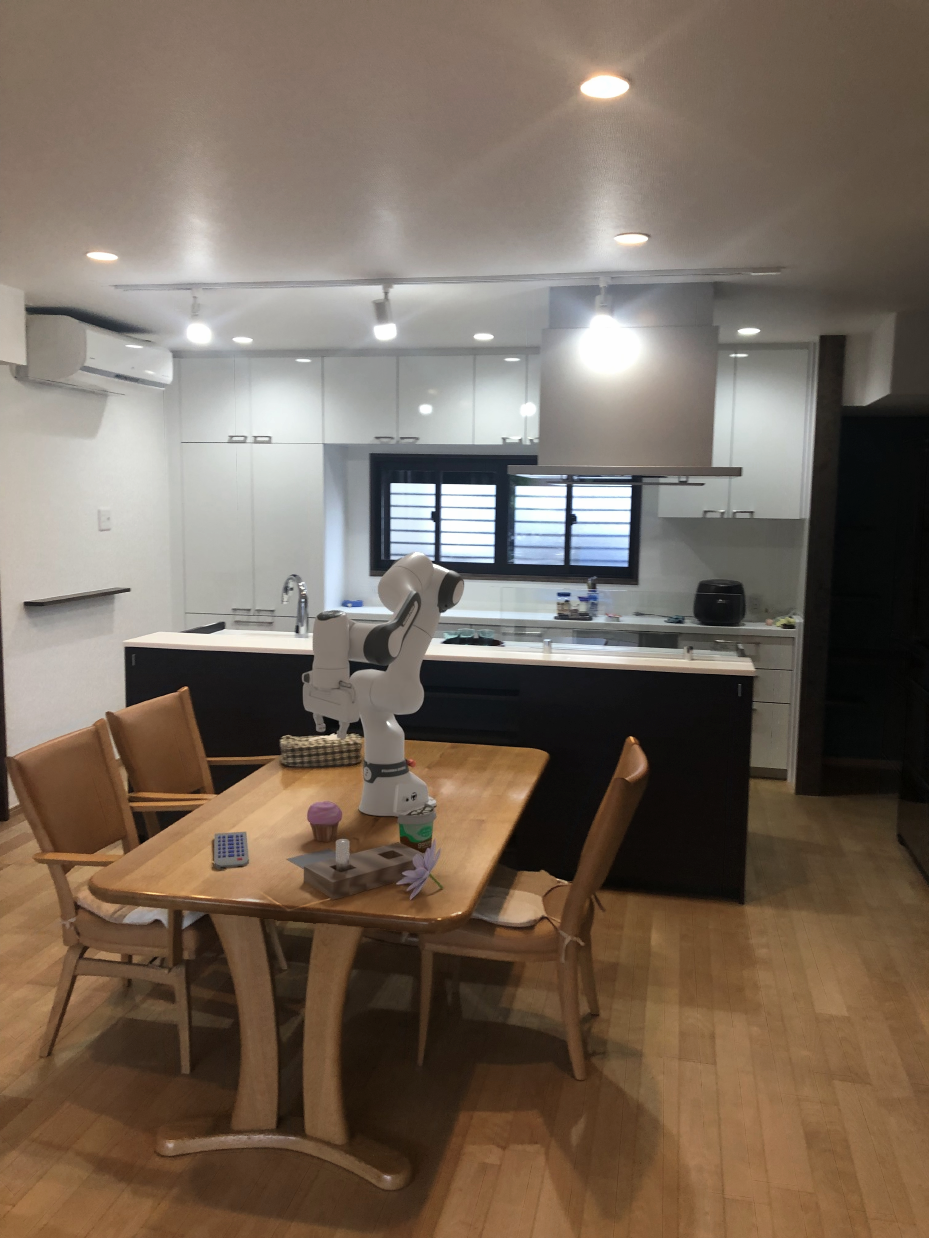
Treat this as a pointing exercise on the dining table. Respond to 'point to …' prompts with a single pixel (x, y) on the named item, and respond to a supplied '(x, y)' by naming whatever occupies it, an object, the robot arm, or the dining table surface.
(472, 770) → the dining table surface
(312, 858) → the mat
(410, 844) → the food container
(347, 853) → the peg
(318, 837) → the cupcake
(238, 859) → the remote control
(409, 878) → the water lily
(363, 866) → the hole block
